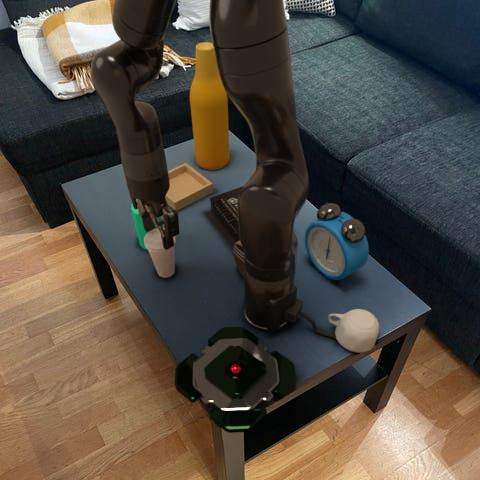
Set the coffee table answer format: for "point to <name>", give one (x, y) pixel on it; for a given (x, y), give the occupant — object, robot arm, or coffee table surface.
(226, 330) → the four-lobed dark green device
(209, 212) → the black electronic device
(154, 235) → the smoothie
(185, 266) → the coffee table surface
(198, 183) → the tray
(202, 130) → the beer bottle
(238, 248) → the doughnut
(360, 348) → the teacup
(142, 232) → the candle
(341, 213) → the alarm clock
